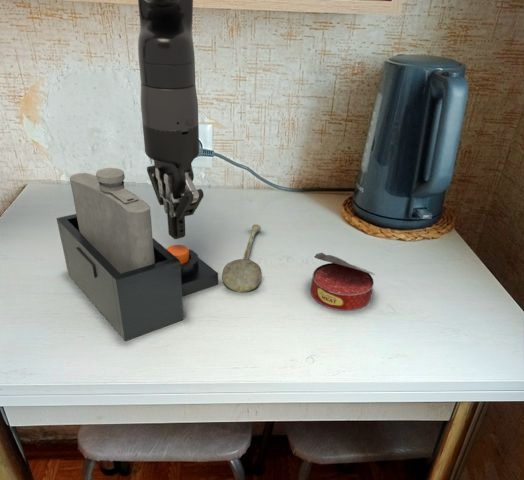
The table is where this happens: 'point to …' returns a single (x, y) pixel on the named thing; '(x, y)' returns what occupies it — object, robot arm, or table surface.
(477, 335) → the table surface
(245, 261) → the soupspoon
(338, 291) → the canned food
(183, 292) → the control panel
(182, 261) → the button
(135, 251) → the hip flask
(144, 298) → the black storage bin
